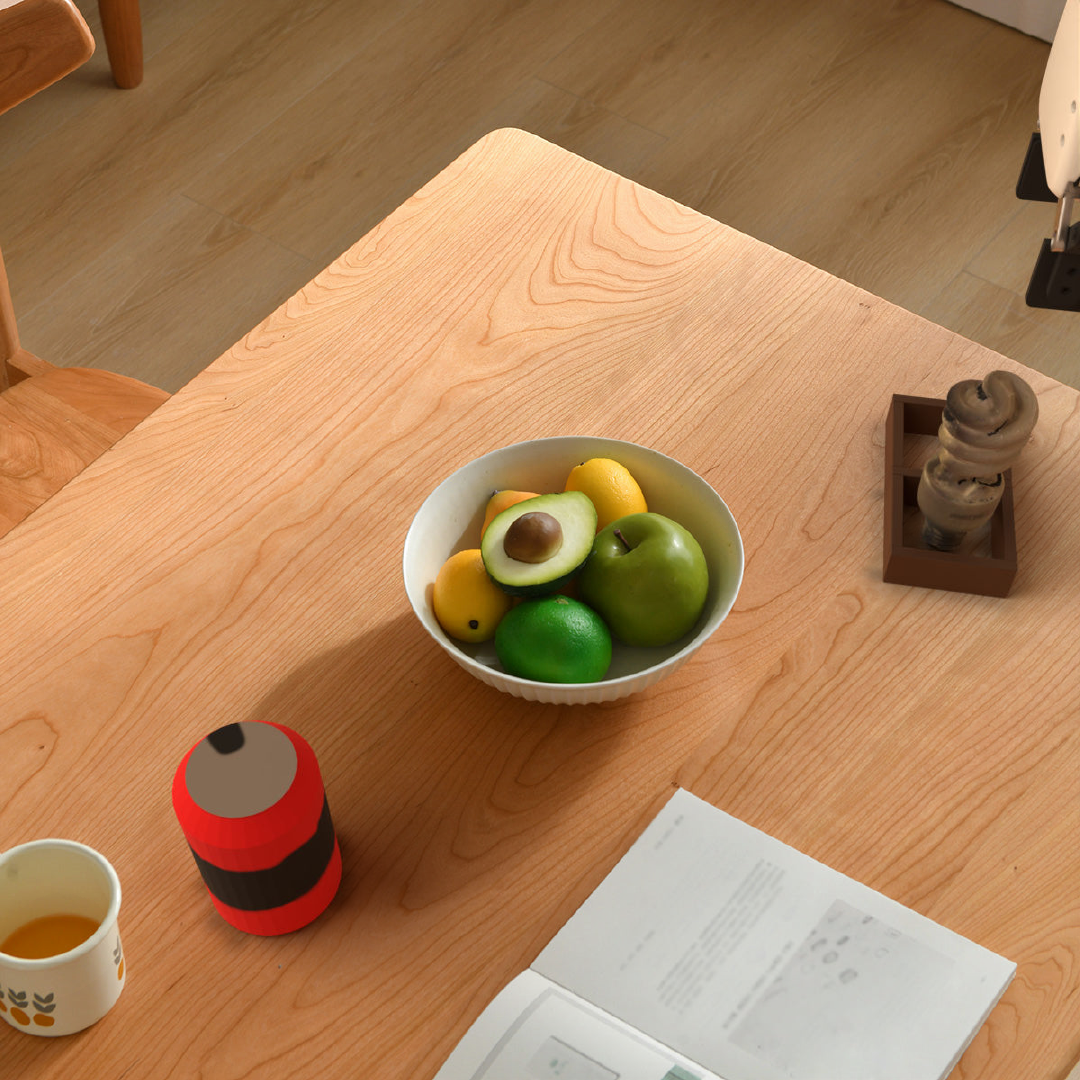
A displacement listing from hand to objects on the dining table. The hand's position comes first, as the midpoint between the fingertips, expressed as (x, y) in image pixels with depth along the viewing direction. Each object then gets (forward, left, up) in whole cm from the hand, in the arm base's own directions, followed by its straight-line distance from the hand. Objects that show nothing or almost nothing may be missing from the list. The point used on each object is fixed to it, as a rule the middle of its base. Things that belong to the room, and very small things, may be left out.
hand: (1048, 250), depth 74 cm
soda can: (+3, +50, -26) cm, 56 cm away
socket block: (+3, -3, -26) cm, 26 cm away
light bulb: (0, 0, -26) cm, 26 cm away
